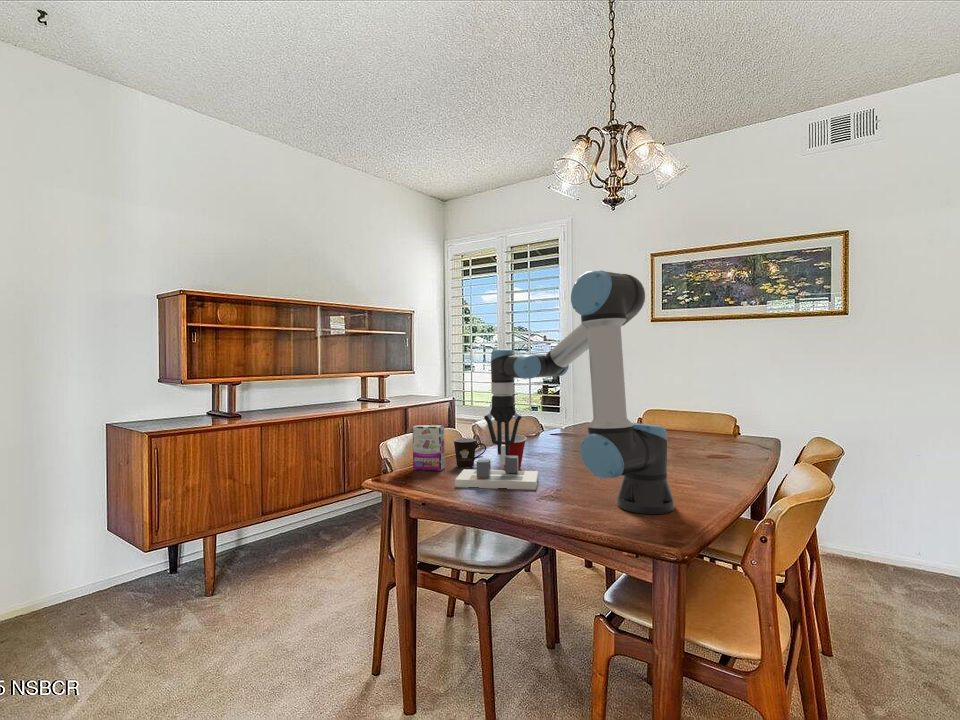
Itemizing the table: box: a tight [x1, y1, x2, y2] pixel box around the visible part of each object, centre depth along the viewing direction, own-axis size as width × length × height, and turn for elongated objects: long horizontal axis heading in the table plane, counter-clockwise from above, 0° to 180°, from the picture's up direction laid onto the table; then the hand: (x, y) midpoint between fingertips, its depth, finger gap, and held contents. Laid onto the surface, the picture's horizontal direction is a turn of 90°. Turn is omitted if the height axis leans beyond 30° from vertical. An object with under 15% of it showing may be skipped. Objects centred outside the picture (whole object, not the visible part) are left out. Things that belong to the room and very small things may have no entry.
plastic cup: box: [502, 433, 528, 471], centre depth 185 cm, size 11×11×12 cm
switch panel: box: [454, 468, 539, 491], centre depth 166 cm, size 14×26×3 cm, turn 81°
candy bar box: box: [411, 424, 446, 472], centre depth 186 cm, size 11×5×16 cm, turn 76°
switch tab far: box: [504, 456, 519, 473], centre depth 168 cm, size 4×4×5 cm
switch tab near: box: [476, 458, 492, 478], centre depth 163 cm, size 4×4×5 cm
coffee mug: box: [453, 437, 487, 468], centre depth 190 cm, size 12×9×10 cm
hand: (503, 464), depth 169 cm, fingers closed
